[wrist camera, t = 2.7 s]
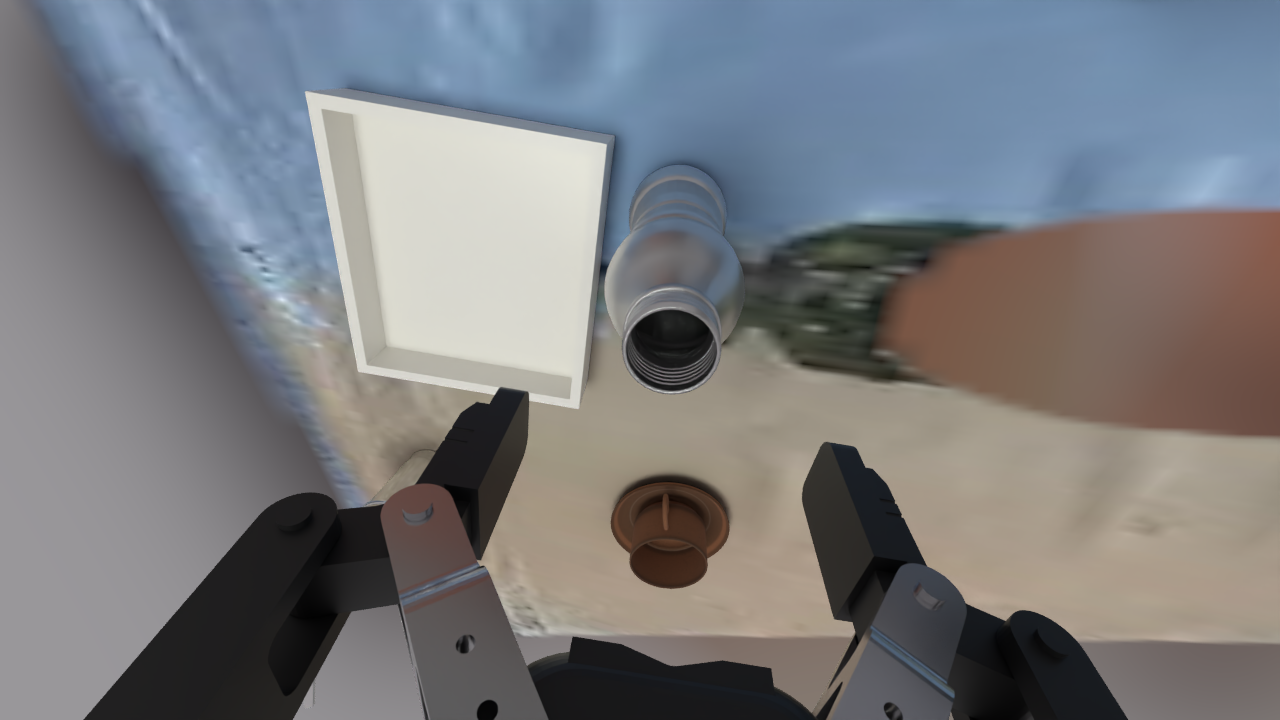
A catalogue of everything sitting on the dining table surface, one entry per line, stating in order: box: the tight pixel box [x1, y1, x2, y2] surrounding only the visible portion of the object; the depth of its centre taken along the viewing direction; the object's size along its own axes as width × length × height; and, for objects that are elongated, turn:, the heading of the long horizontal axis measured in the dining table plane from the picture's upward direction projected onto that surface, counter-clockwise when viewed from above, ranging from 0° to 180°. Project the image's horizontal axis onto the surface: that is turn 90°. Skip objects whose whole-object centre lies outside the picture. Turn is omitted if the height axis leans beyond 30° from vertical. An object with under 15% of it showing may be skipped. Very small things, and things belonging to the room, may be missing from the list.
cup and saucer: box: [611, 482, 729, 589], centre depth 48 cm, size 12×12×6 cm
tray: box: [305, 88, 615, 409], centre depth 36 cm, size 20×18×4 cm
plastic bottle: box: [605, 165, 745, 394], centre depth 26 cm, size 6×7×20 cm
